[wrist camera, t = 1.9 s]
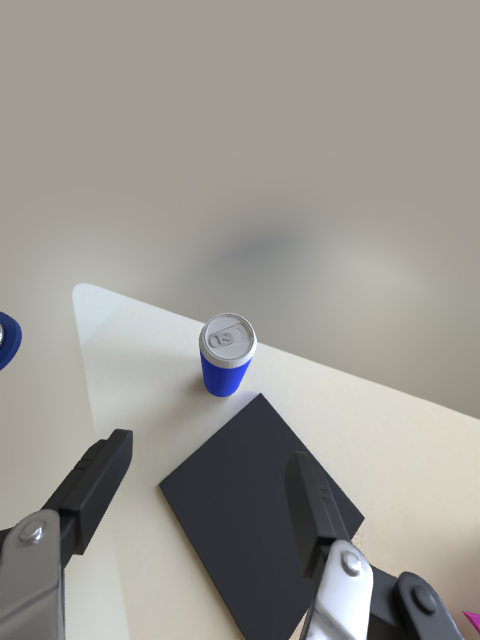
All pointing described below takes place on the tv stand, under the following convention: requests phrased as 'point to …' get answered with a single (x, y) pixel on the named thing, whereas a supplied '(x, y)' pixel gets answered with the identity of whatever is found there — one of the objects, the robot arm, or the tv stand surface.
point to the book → (474, 620)
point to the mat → (249, 519)
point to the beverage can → (226, 352)
